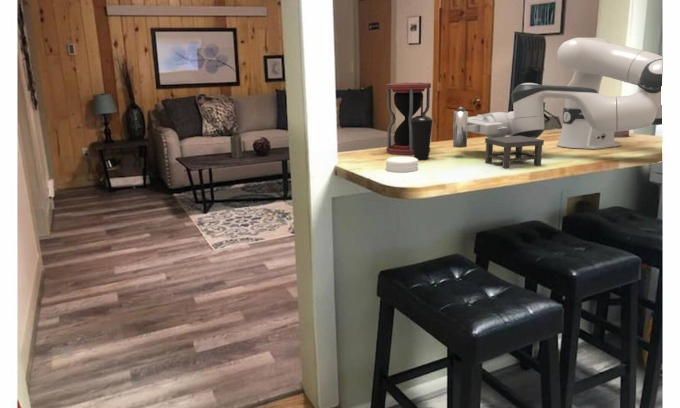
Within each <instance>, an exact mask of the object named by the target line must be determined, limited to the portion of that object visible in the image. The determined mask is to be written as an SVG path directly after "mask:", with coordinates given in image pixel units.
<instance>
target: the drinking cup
mask: <svg viewBox="0 0 680 408" xmlns="http://www.w3.org/2000/svg"><path fill="white" fill-rule="evenodd" d="M423 112H424V99H423V100H421V107H420V114H419V115H416V116H413V117H412V119H410V121H411V125H412V137H413V148H414V155H413V157H414V158H417V159H418V161H426V160H429V158H430V157H429V156H430V152H429V149H430V150H431V139H432V138H431V137H432V127H433V121H434V119H433V118H432V117H430V116H428V115H426V116H424V115H423Z"/></svg>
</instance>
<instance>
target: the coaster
mask: <svg viewBox="0 0 680 408" xmlns="http://www.w3.org/2000/svg"><path fill="white" fill-rule="evenodd" d="M385 162H386V163H385V166H386V168H385V169H386V170H387V172H391V171H392V173H411V172H410V171H412V172H415V170H416V171H418V170H417V169H419V167H418V166H419V163H418V162H419V160H418V159H417V158H414V156H413V157H412V156H392V157H388V158H387V159H385Z"/></svg>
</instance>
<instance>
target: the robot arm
mask: <svg viewBox="0 0 680 408" xmlns="http://www.w3.org/2000/svg"><path fill="white" fill-rule="evenodd" d="M556 53H557V54H556V58H557V62H558V63H559V64H560V66H561V67H563V68H566V69H568V70H569V69H570V70H573V71H574V72H573V75H572V78H571V79H570V82H568V84H567V85H565V86H564V85H552V84H550V85H548V84H544V85H543V84H538V83H534V82H524V83H521V84H518V85H517V86H516V87H515V88H514V89H513V91H512V92H511V94H510V95H511V103H512V106H513V107H512V109H513V111H508V112H504V111H497V112H496V111H495V112H488V113H480V114H477V115H476V116H475V115H474V116H468V123H467V126H462V131H467V132H471V133H473V134H474V133H476V134H479V135H484V136H485V137H486V138H494V137H507V136H525V137H530V138H535V139H539V137H540V136H541V135H542V134H543V133H544V131H545V116H544V115H545V113H544V112H545V111H544V109H545V108H544V100H545V99H547V98H551V99H565V101H564V107H563V108H562V110H563V111H562V126H561V130H560V131H561V132H560V134H559V138H558V142H557V143H556V146H558V147H562V148H568V149H586V150H587V149H588V150H590V149H591V150H599V149H606V148H612V147H619V146H622V143H621V142H620V141H615V138H614V132H616V130H617V132H619V131H628V130H629V131H632V130H638V129H642V128H647V127H649V126H650V125H654V126H659V125H663V124H662V105H661V86H662V57H663V56H661V55H659V54H657V53H654V52H650V51H646V50H643V49H639V48H635V47H630V46H627V45H623V44H616V43H611V42H610V41H608V40H606V39H604V38H601V37H573V38H571V39H568V40H566V41H564V42H563V43H562V44H561V45H560V46H559V47H558V49H557V52H556ZM603 77H606V78H610V79H613V80H617V81H621V82H624V83H626V84H629V85H630V84H631V85H635V86H638V87H639V89H638V90H637V91H636V92H635V93H634V94H630V95H621V96H620V95H618V96H606V95H602V94H600V88H601V83H602V81H603ZM452 128H453V130H454V123H453V125H452Z"/></svg>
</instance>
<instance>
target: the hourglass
mask: <svg viewBox="0 0 680 408" xmlns="http://www.w3.org/2000/svg"><path fill="white" fill-rule="evenodd" d="M385 87H386V91H387V99H386V100H387V107H386V108H387V111H388V113H389V114H390V117H391V121H390V123H389V125H388V127H387V147H386V152H387V153H388V154H392V155H399V156H400V155H401V156H414V148H413V137H412V125H411V121H410V119H412V118H413V117H414V115H416V113H417V112H418V111H419V110H421V100H423V101H424V94H423V92H425V90H426V100H425V101H426V102H425V103H426V106H425V110H423V115H424V116H427V115H426V114H427V113H428V112H429V110H430V103H431V102H430V101H431V100H430V99H431V98H430V96H431V93H430V92H431V88H432V83H431V82H399V83H398V82H397V83H386V86H385ZM391 90H392V91H391ZM391 92H392V93H393V94H394V95H393V102H394V106H395V107H396V110H398V112H399V113H400V114H401V115H402V116H403V117H404V120H403V121H401V123H400V124H399V125H398V126H397V128H396V129H395V131H394V136H393V142H394V143H393V144H391V143H392V142H391V141H392V140H391V138H392V131H391V130H392V127H393V125H395V122H396V116H395V113H394V112H393V111H392V108H391V107H392V106H391V105H392V104H391V100H392V98H391ZM430 151H431V148H430V149H429V153H430Z"/></svg>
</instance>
